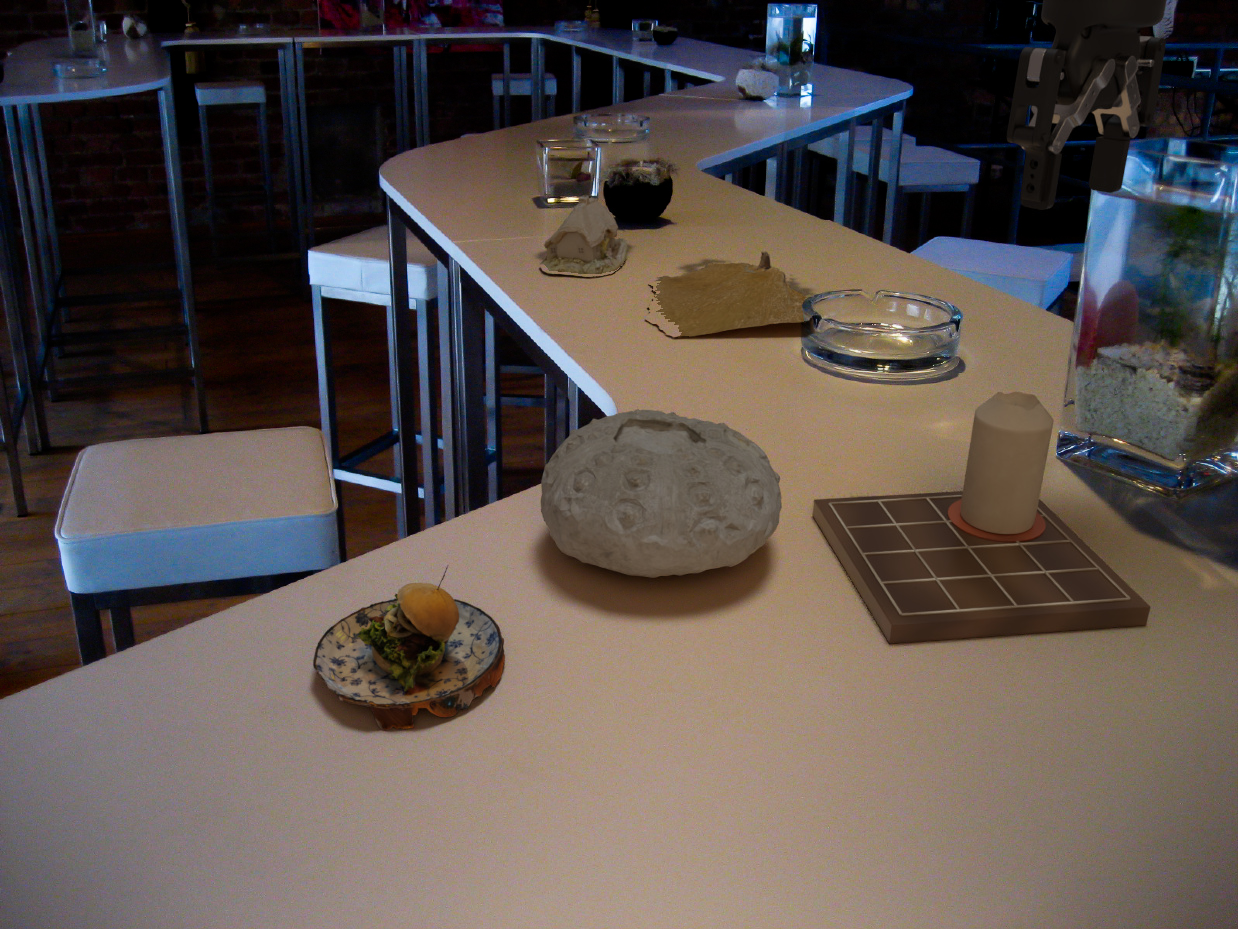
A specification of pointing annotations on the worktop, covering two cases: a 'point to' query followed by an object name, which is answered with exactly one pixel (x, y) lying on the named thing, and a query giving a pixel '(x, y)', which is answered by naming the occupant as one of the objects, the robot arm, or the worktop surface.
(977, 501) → the candle
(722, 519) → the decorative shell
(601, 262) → the ceramic model
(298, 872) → the worktop surface
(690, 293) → the leather hide
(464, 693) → the burger
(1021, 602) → the board
